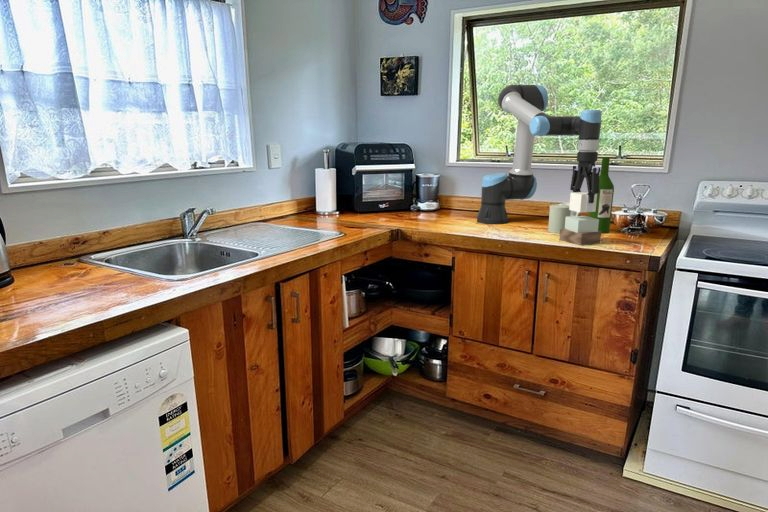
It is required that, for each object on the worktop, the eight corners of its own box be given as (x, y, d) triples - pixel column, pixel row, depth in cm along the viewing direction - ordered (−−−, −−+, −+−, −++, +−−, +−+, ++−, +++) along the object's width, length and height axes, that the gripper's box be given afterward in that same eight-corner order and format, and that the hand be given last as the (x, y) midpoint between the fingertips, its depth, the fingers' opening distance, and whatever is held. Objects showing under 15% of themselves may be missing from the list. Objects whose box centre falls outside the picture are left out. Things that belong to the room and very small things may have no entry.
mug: (570, 228, 228) (572, 207, 225) (553, 223, 239) (555, 203, 236) (584, 227, 230) (586, 206, 228) (567, 222, 241) (569, 202, 239)
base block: (559, 241, 202) (560, 229, 201) (578, 238, 207) (579, 226, 206) (580, 246, 193) (581, 233, 192) (600, 243, 198) (601, 231, 197)
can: (570, 234, 214) (573, 206, 212) (548, 233, 216) (551, 206, 213) (567, 230, 223) (570, 203, 220) (546, 229, 225) (548, 203, 222)
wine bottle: (594, 233, 214) (602, 158, 207) (583, 230, 223) (590, 157, 215) (613, 233, 216) (622, 157, 208) (601, 229, 224) (609, 156, 216)
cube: (569, 209, 199) (570, 192, 198) (584, 209, 201) (585, 191, 199) (580, 212, 193) (581, 194, 191) (595, 211, 194) (597, 193, 193)
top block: (564, 228, 202) (565, 216, 201) (584, 227, 204) (585, 215, 203) (577, 232, 194) (578, 220, 192) (597, 231, 195) (599, 219, 194)
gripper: (563, 150, 200) (559, 206, 205) (596, 152, 181) (590, 214, 186) (579, 150, 202) (574, 206, 207) (613, 151, 183) (607, 213, 188)
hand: (582, 209), depth 197 cm, fingers closed on cube, 7 cm apart
